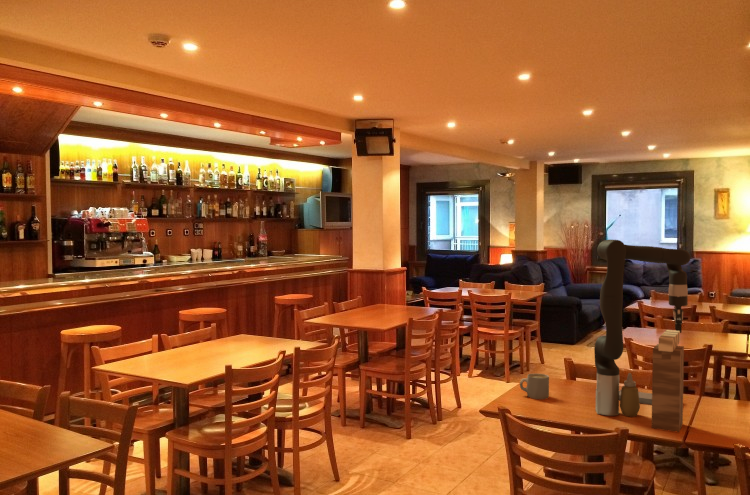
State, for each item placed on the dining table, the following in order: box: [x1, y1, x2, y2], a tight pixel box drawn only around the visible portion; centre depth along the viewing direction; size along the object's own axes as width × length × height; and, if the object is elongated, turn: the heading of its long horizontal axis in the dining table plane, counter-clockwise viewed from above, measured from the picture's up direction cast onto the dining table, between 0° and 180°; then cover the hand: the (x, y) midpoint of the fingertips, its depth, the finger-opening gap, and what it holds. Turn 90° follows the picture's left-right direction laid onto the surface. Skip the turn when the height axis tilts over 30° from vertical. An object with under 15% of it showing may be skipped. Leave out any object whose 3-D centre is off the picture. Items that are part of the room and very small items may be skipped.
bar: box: [658, 329, 681, 352], centre depth 257 cm, size 24×5×5 cm, turn 148°
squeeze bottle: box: [619, 372, 641, 417], centre depth 271 cm, size 8×8×18 cm
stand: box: [651, 343, 685, 433], centre depth 255 cm, size 12×10×32 cm
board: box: [619, 389, 652, 406], centre depth 293 cm, size 26×11×2 cm, turn 58°
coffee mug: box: [519, 372, 550, 400], centre depth 301 cm, size 13×10×10 cm
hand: (678, 331), depth 277 cm, fingers open, 8 cm apart
